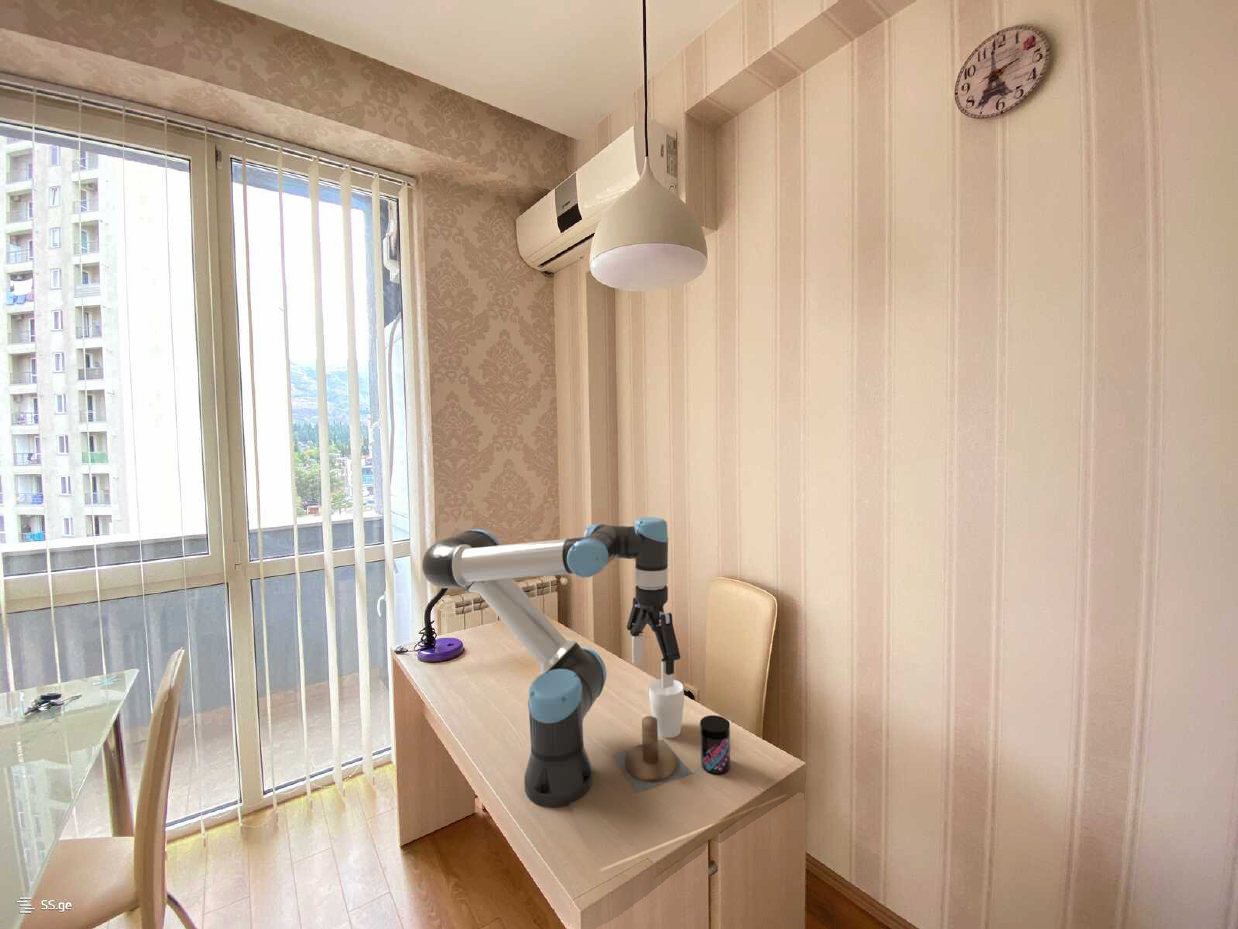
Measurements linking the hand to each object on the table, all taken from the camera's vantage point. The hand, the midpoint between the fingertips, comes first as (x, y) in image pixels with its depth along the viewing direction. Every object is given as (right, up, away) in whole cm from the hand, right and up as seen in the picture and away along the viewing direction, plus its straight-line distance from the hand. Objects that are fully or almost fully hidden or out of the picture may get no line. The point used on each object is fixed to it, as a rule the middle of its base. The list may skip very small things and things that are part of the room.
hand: (651, 673), depth 119 cm
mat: (0, -21, -1) cm, 21 cm away
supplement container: (+15, -21, -2) cm, 25 cm away
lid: (0, -21, -1) cm, 21 cm away
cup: (+5, -20, +12) cm, 24 cm away
